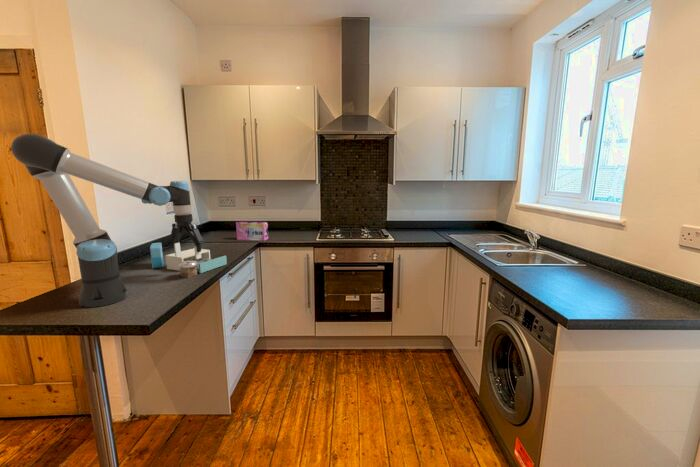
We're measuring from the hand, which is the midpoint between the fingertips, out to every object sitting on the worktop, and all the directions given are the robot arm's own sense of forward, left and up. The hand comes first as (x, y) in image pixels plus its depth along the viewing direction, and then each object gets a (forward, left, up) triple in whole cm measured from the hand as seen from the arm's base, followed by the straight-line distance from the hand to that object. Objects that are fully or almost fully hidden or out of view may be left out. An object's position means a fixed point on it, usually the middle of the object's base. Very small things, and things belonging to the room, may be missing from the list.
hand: (188, 257), depth 152 cm
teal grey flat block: (+13, +3, -9) cm, 16 cm away
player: (+13, +15, -9) cm, 22 cm away
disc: (0, 0, -4) cm, 4 cm away
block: (0, 0, -9) cm, 9 cm away
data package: (+2, +26, -3) cm, 26 cm away
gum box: (+84, +32, -10) cm, 90 cm away
